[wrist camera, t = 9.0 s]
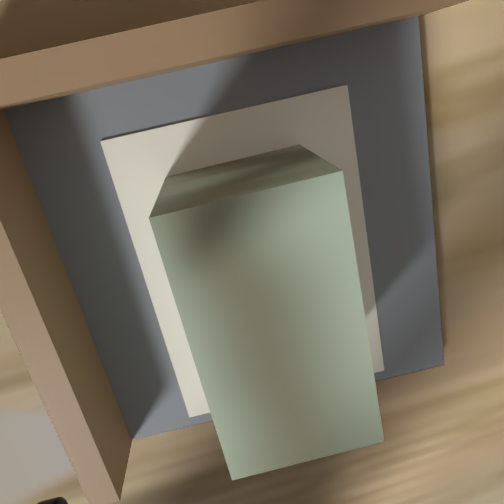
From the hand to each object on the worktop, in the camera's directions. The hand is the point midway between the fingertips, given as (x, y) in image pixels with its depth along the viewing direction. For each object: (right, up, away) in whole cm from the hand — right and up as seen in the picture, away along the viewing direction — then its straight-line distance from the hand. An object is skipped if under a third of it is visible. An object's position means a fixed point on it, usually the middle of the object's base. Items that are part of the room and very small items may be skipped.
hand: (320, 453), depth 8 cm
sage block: (-1, +3, +8) cm, 9 cm away
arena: (-2, +4, +9) cm, 10 cm away
